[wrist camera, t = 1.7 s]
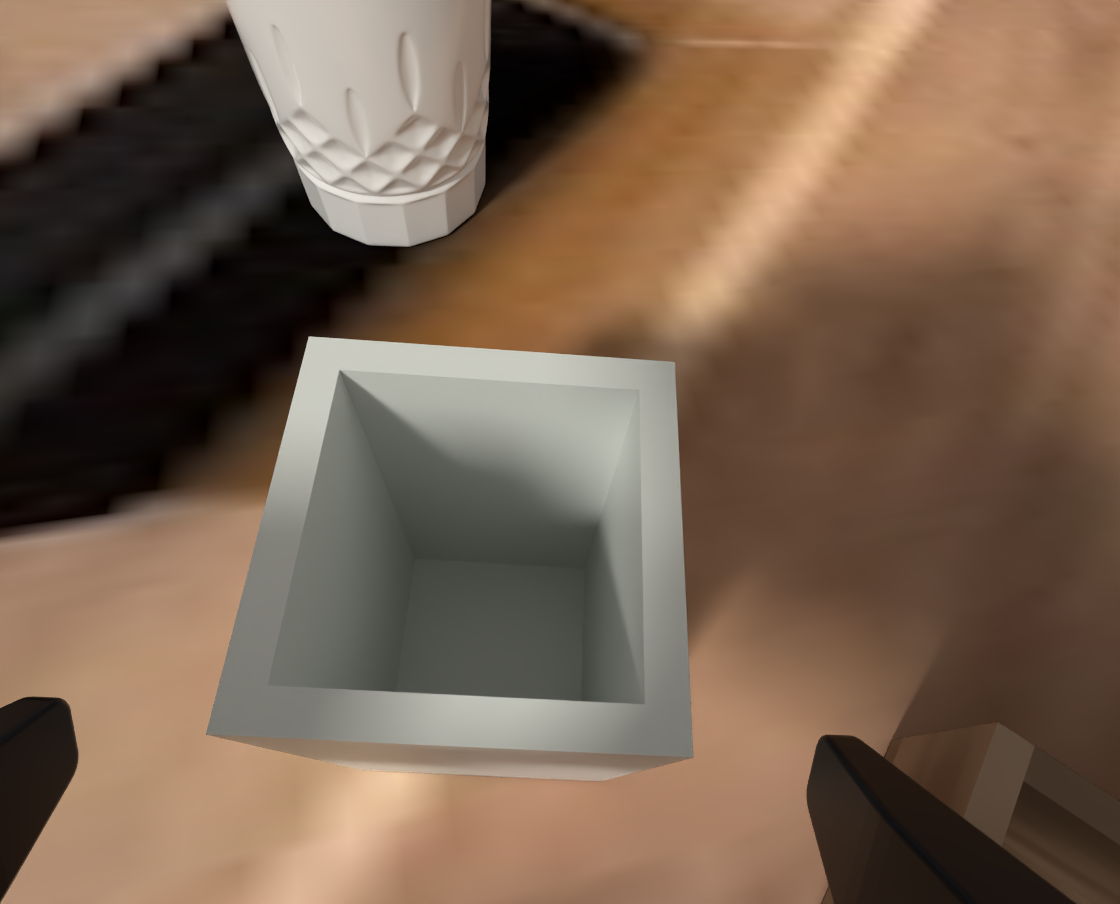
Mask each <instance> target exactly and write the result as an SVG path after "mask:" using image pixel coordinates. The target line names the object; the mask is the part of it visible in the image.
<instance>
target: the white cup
mask: <svg viewBox="0 0 1120 904" xmlns="http://www.w3.org/2000/svg"><path fill="white" fill-rule="evenodd" d="M225 1H226V4H227V6H228V9H229V11H230V14H231V16H232V19H233V21H234V24H235V26H236V29H237V31H238V34H239V36H240V39H241V41H242V44H243V46H244V49H245V51H246V54H247V56H248V59H249V61H250V64H251V66H252V69H253V71H254V74H255V76H256V78H257V81H258V83H259V85H260V88H261V90H262V92H263V94H264V96H265V98H266V100H267V102H268V104H269V106H270V109H271V112H272V115H273V117H274V120H275V123H276V125H277V128H278V130H279V132H280V134H281V136H282V138H283V140H284V142H285V144H286V146H287V148H288V150H289V151H290V153H291V155H292V156H293V158H294V161H295V164H296V167H297V169H298V172H299V175H300V177H301V180H302V182H303V185H304V187H305V190H306V193H307V195H308V198H309V200H310V203H311V205H312V206H313V208H314V209H315V210H316V211H317V212H318V213H319V215H320V216H321V217H322V218H323V219H324V220H325V221H326V223H327V224H328V225H329V226H330V227H331V228H332V229H333V230H334V231H336V232H338V233H340V234H343V235H345V236H348V237H350V238H352V239H355V240H357V241H360V242H362V243H364V244H367V245H373V246H403V247H410V246H414V245H417V244H420V243H424V242H427V241H430V240H434V239H437V238H440V237H443V236H446V235H448V234H450V233H451V232H452V231H453V230H454V229H456V228H457V227H458V226H459V225H461V224H462V223H463V222H464V221H465V220H467V219H468V218H469V217H470V216H471V215H473V214H474V213H475V210H476V208H477V205H478V202H479V200H480V197H481V195H482V192H483V189H484V187H485V136H486V129H487V122H488V111H489V87H488V84H489V74H490V60H491V0H225Z"/></svg>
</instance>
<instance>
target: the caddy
mask: <svg viewBox="0 0 1120 904" xmlns="http://www.w3.org/2000/svg"><path fill="white" fill-rule="evenodd" d="M206 735H211V736H215V737H219V738H224V739H228V740H232V741H237V742H241V743H246V744H250V745H254V746H259V747H263V748H267V749H272V750H276V751H281V752H285V753H289V754H294V755H298V756H303V757H307V758H311V759H316V760H320V761H324V762H329V763H333V764H338V765H342V766H346V767H351V768H355V769H359V770H364V771H385V772H406V773H428V774H450V775H472V776H494V777H516V778H538V779H559V780H581V781H604V780H608V779H612V778H616V777H620V776H624V775H628V774H632V773H635V772H639V771H643V770H647V769H651V768H655V767H659V766H662V765H666V764H670V763H674V762H678V761H682V760H686V759H689V758H693V739H692V718H691V697H690V675H689V654H688V633H687V611H686V590H685V569H684V547H683V526H682V504H681V483H680V462H679V440H678V419H677V398H676V376H675V362H670V361H655V360H641V359H626V358H612V357H597V356H583V355H568V354H554V353H539V352H525V351H510V350H496V349H481V348H467V347H452V346H438V345H423V344H409V343H394V342H380V341H365V340H351V339H336V338H322V337H309V339H308V342H307V346H306V350H305V354H304V358H303V362H302V366H301V369H300V373H299V377H298V381H297V385H296V389H295V393H294V396H293V400H292V404H291V408H290V412H289V416H288V420H287V423H286V427H285V431H284V435H283V439H282V443H281V447H280V450H279V454H278V458H277V462H276V466H275V470H274V474H273V477H272V481H271V485H270V489H269V493H268V497H267V501H266V504H265V508H264V512H263V516H262V520H261V524H260V528H259V531H258V535H257V539H256V543H255V547H254V551H253V555H252V559H251V562H250V566H249V570H248V574H247V578H246V582H245V586H244V589H243V593H242V597H241V601H240V605H239V609H238V613H237V616H236V620H235V624H234V628H233V632H232V636H231V640H230V643H229V647H228V651H227V655H226V659H225V663H224V667H223V670H222V674H221V678H220V682H219V686H218V690H217V694H216V697H215V701H214V705H213V709H212V713H211V717H210V721H209V724H208V728H207V732H206Z"/></svg>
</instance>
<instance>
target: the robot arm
mask: <svg viewBox="0 0 1120 904" xmlns="http://www.w3.org/2000/svg"><path fill="white" fill-rule="evenodd" d="M77 764H78V748H77V742H76V737H75V731H74V726H73V721H72V715H71V710H70V707H69V705H68V703H67V702H66V701H65V700H63V699H61V698H53V697H25V698H22V699H19V700H17V701H15V702H13V703H11V704H8V705H6V706H4V707H2V708H0V902H1V901H2V899H3V897H4V896H5V894H6V893H7V891H8V889H9V888H10V886H11V884H12V882H13V881H14V879H15V877H16V875H17V874H18V872H19V870H20V868H21V867H22V865H23V863H24V862H25V860H26V858H27V856H28V855H29V853H30V851H31V849H32V848H33V846H34V844H35V842H36V841H37V839H38V837H39V835H40V834H41V832H42V830H43V828H44V827H45V825H46V823H47V821H48V820H49V818H50V816H51V815H52V813H53V811H54V809H55V808H56V806H57V804H58V802H59V801H60V799H61V797H62V795H63V794H64V792H65V790H66V788H67V787H68V785H69V783H70V781H71V780H72V778H73V776H74V773H75V771H76V768H77ZM807 805H808V810H809V814H810V817H811V821H812V825H813V829H814V832H815V836H816V840H817V843H818V847H819V851H820V855H821V858H822V862H823V866H824V869H825V873H826V877H827V881H828V884H829V888H830V892H831V895H832V899H833V903H834V904H1077V903H1075V902H1074V901H1073V900H1071V899H1070V898H1069V897H1068V896H1066V895H1065V894H1064V893H1062V892H1061V891H1060V890H1058V889H1057V888H1056V887H1054V886H1053V885H1052V884H1050V883H1049V882H1048V881H1046V880H1045V879H1044V878H1042V877H1041V876H1040V875H1038V874H1037V873H1036V872H1035V871H1033V870H1032V869H1031V868H1029V867H1028V866H1027V865H1025V864H1024V863H1023V862H1021V861H1020V860H1019V859H1017V858H1016V857H1015V856H1013V855H1012V854H1011V853H1009V852H1008V851H1007V850H1005V849H1004V848H1003V847H1001V846H1000V845H999V844H998V843H996V842H995V841H994V840H992V839H991V838H990V837H988V836H987V835H986V834H984V833H983V832H982V831H980V830H979V829H978V828H976V827H975V826H974V825H972V824H971V823H970V822H968V821H967V820H966V819H965V818H963V817H962V816H961V815H959V814H958V813H957V812H955V811H954V810H953V809H951V808H950V807H949V806H947V805H946V804H945V803H943V802H942V801H941V800H939V799H938V798H937V797H935V796H934V795H933V794H931V793H930V792H929V791H928V790H926V789H925V788H924V787H922V786H921V785H920V784H918V783H917V782H916V781H914V780H913V779H912V778H910V777H909V776H908V775H906V774H905V773H904V772H902V771H901V770H900V769H898V768H897V767H896V766H894V765H893V764H892V763H891V762H889V761H888V760H887V759H885V758H884V757H883V756H881V755H880V754H879V753H877V752H876V751H875V750H873V749H872V748H871V747H869V746H868V745H867V744H865V743H864V742H863V741H861V740H860V739H858V738H857V737H854V736H847V735H824V736H822V737H821V738H820V739H819V741H818V743H817V746H816V750H815V754H814V759H813V763H812V767H811V772H810V776H809V780H808V785H807Z"/></svg>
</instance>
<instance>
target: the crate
mask: <svg viewBox="0 0 1120 904" xmlns="http://www.w3.org/2000/svg"><path fill="white" fill-rule="evenodd" d="M884 758H885V759H887V760H888V761H889V762H891V763H892V764H893V765H894V766H896V767H897V768H898V769H900V770H901V771H902V772H904V773H905V774H906V775H908V776H909V777H910V778H912V779H913V780H914V781H916V782H917V783H918V784H920V785H921V786H922V787H924V788H925V789H926V790H928V791H929V792H930V793H931V794H933V795H934V796H935V797H937V798H938V799H939V800H941V801H942V802H943V803H945V804H946V805H947V806H949V807H950V808H951V809H953V810H954V811H955V812H957V813H958V814H959V815H961V816H962V817H963V818H965V819H966V820H967V821H968V822H970V823H971V824H972V825H974V826H975V827H976V828H978V829H979V830H980V831H982V832H983V833H984V834H986V835H987V836H988V837H990V838H991V839H992V840H994V841H995V842H996V843H998V844H999V845H1000V846H1001V847H1003V848H1004V849H1005V850H1007V851H1008V852H1009V853H1011V854H1012V855H1013V856H1015V857H1016V858H1017V859H1019V860H1020V861H1021V862H1023V863H1024V864H1025V865H1027V866H1028V867H1029V868H1031V869H1032V870H1033V871H1035V872H1036V873H1037V874H1038V875H1040V876H1041V877H1042V878H1044V879H1045V880H1046V881H1048V882H1049V883H1050V884H1052V885H1053V886H1054V887H1056V888H1057V889H1058V890H1060V891H1061V892H1062V893H1064V894H1065V895H1066V896H1068V897H1069V898H1070V899H1071V900H1073V901H1074V902H1075V903H1077V904H1120V801H1119V800H1117V799H1116V798H1114V797H1113V796H1111V795H1110V794H1108V793H1106V792H1105V791H1103V790H1102V789H1100V788H1099V787H1097V786H1096V785H1094V784H1093V783H1091V782H1090V781H1088V780H1087V779H1085V778H1083V777H1082V776H1080V775H1079V774H1077V773H1076V772H1074V771H1073V770H1071V769H1070V768H1068V767H1067V766H1065V765H1063V764H1062V763H1060V762H1059V761H1057V760H1056V759H1054V758H1053V757H1051V756H1050V755H1048V754H1047V753H1045V752H1044V751H1042V750H1040V749H1039V748H1037V747H1036V746H1034V745H1033V744H1031V743H1030V742H1028V741H1027V740H1025V739H1024V738H1022V737H1020V736H1019V735H1017V734H1016V733H1014V732H1013V731H1011V730H1010V729H1008V728H1007V727H1005V726H1004V725H1002V724H1001V723H999V722H994V723H988V724H982V725H976V726H970V727H964V728H959V729H953V730H947V731H941V732H935V733H929V734H923V735H917V736H912V737H906V738H900V739H894V740H892V741H891V743H890V746H889V748H888V750H887V753H886V755H885V757H884ZM822 904H834V903H833V899H832V895H831V892H830V888H828V890H827V893H826V895H825V897H824V900H823V902H822Z"/></svg>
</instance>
